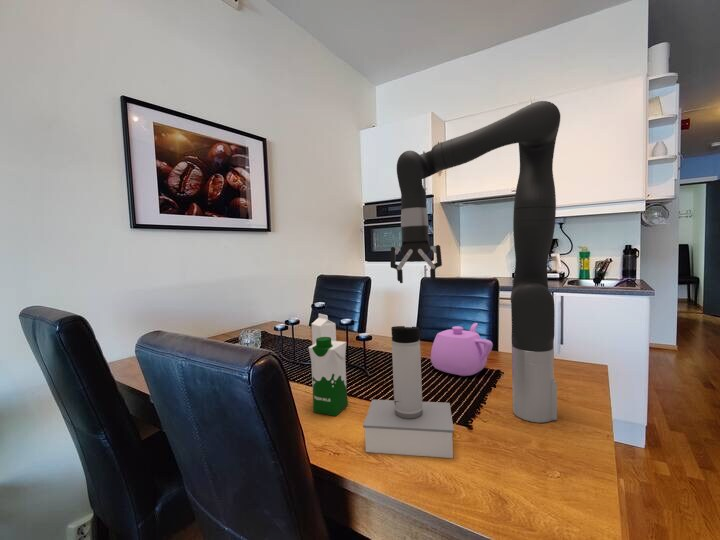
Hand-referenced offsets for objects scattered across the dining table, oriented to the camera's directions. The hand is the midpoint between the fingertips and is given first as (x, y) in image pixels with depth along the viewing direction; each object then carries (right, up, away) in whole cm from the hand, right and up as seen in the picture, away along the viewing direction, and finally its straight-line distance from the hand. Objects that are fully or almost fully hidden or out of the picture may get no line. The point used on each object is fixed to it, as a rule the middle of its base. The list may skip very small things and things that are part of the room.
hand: (416, 282), depth 98 cm
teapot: (+19, -31, +23) cm, 43 cm away
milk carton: (-24, -35, -3) cm, 42 cm away
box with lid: (-5, -35, -20) cm, 40 cm away
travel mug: (-5, -29, -20) cm, 36 cm away
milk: (-28, -34, +20) cm, 48 cm away
